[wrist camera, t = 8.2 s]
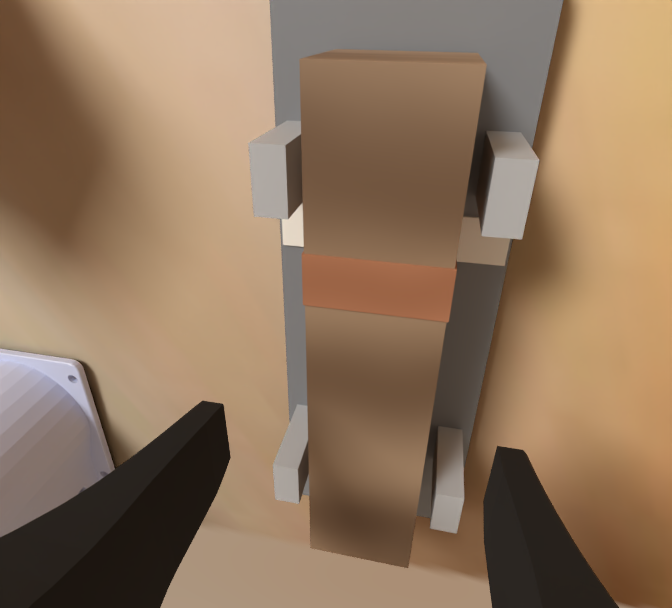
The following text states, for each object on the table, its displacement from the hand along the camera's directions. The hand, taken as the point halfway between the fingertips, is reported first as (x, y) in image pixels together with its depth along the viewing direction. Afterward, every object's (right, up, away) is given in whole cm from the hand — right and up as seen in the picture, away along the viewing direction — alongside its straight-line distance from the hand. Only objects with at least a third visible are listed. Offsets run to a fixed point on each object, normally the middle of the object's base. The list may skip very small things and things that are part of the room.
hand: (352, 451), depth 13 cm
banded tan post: (+1, +3, +6) cm, 7 cm away
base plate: (+2, +4, +7) cm, 8 cm away
